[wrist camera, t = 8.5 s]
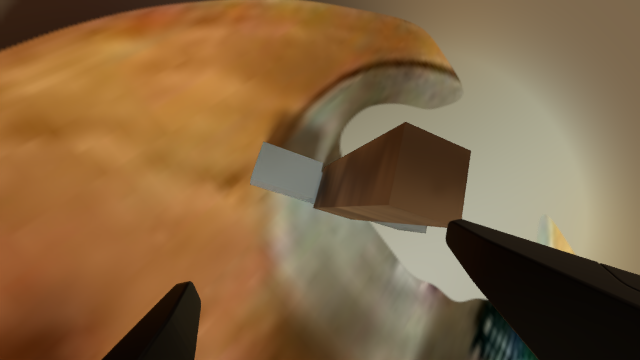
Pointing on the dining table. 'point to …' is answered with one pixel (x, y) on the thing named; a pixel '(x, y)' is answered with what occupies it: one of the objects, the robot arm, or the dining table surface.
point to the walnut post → (398, 180)
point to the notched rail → (297, 178)
